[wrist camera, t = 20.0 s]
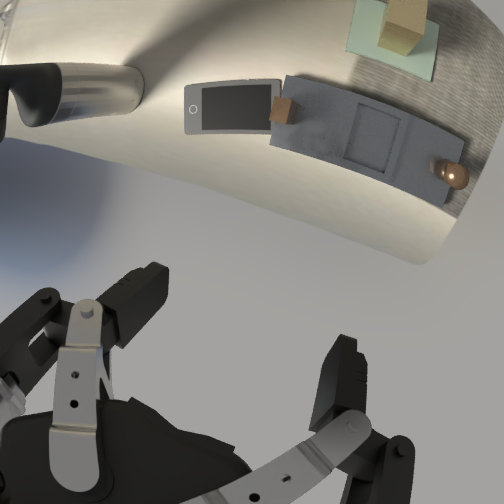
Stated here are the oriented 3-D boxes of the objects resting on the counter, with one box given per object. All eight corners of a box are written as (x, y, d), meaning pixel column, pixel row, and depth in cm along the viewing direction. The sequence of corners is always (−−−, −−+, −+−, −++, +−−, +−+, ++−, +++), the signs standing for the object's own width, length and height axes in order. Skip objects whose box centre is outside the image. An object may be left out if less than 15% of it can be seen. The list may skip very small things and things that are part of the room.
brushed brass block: (377, 46, 26) (386, 20, 17) (383, 12, 23) (392, -19, 14) (405, 56, 25) (423, 35, 16) (411, 22, 22) (428, -5, 13)
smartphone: (281, 79, 33) (280, 78, 32) (280, 134, 36) (279, 134, 36) (186, 85, 37) (184, 85, 36) (186, 134, 40) (184, 134, 40)
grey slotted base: (273, 143, 37) (258, 147, 31) (289, 77, 32) (277, 67, 26) (437, 204, 32) (453, 220, 26) (459, 140, 27) (480, 144, 21)
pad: (345, 51, 28) (345, 50, 27) (357, -4, 23) (357, -6, 22) (429, 82, 26) (430, 81, 25) (438, 26, 21) (439, 25, 20)
